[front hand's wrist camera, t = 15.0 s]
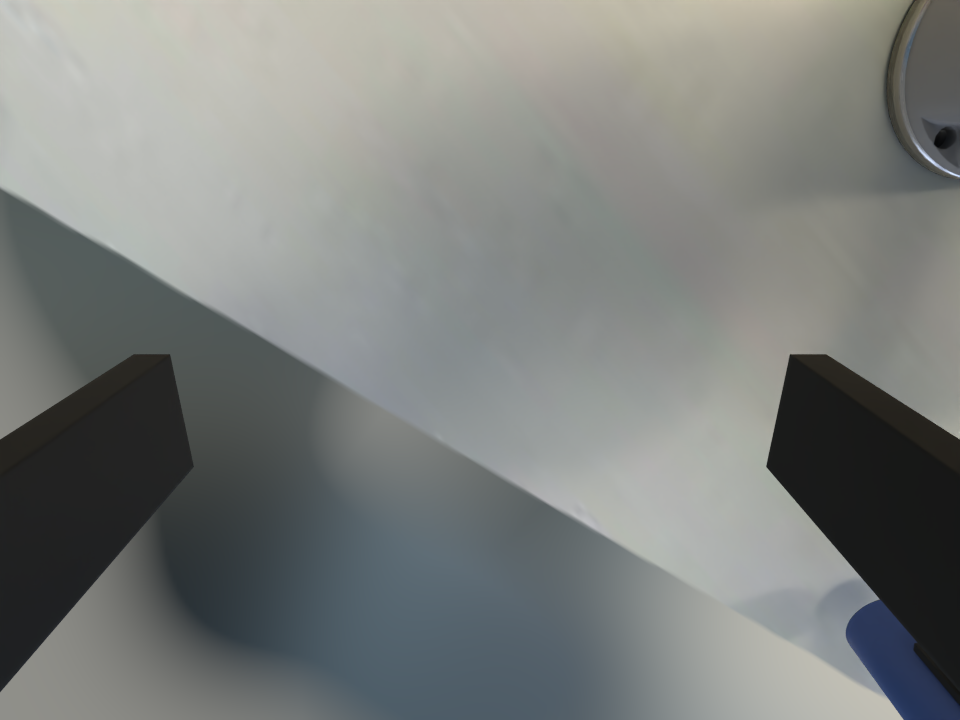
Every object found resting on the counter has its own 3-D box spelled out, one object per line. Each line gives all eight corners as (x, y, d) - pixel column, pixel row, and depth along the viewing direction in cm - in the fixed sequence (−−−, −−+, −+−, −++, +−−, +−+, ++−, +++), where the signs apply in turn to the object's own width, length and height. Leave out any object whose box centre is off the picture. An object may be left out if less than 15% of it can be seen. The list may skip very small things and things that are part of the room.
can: (913, 653, 51) (1046, 812, 39) (839, 655, 51) (949, 815, 39) (931, 596, 49) (1078, 747, 37) (853, 598, 49) (975, 750, 37)
